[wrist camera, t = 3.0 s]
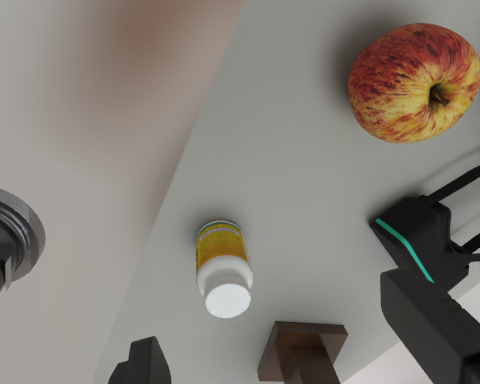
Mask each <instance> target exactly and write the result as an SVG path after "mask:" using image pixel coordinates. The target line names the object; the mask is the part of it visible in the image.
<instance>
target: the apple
mask: <svg viewBox="0 0 480 384" xmlns="http://www.w3.org/2000/svg"><path fill="white" fill-rule="evenodd" d="M479 85H480V62H479V58H478V55H477V53H476V51H475V50H474V48H473V47H472V46H471V45H470V44H469V43H468V42H467V41H466V40H465V39H464V38H463V37H461V36H460V35H458V34H457V33H455V32H453V31H451V30H449V29H447V28H444V27H441V26H438V25H433V24H424V23H418V24H410V25H406V26H402V27H399V28H397V29H394V30H392V31H390V32H388V33H387V34H385V35H383V36H381V37H380V38H378V39H376V40H375V41H373V42H372V43H371V44H369V45H368V46H367V47H366V48H365V49H364V50H363V51H362V52H361V53H360V54H359V56H358V57H357V58H356V60H355V62H354V64H353V66H352V68H351V70H350V73H349V77H348V93H349V99H350V103H351V107H352V110H353V113H354V115H355V117H356V119H357V121H358V123H359V124H360V125H361V127H362V128H363V129H364V130H366V131H367V132H368V133H370V134H371V135H373V136H375V137H377V138H379V139H382V140H384V141H387V142H394V143H410V142H420V141H424V140H427V139H429V138H432V137H434V136H437V135H439V134H440V133H442V132H444V131H445V130H447V129H449V128H450V127H451V126H452V125H454V124H455V123H456V122H457V121H458V120H459V119H460V118H461V116H462V115H463V114H464V112H465V111H466V110H467V108H468V107H469V105H470V104H471V102H472V100H473V99H474V97H475V95H476V93H477V91H478V88H479Z"/></svg>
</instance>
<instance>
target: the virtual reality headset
mask: <svg viewBox="0 0 480 384" xmlns="http://www.w3.org/2000/svg"><path fill="white" fill-rule="evenodd" d="M479 177H480V166H478V167H476V168H474V169H472V170H470V171H468V172H467V173H465V174H464V175H462V176H460V177H459V178H457V179H455V180H454V181H452V182H450V183H449V184H447V185H446V186H444V187H442V188H440V189H439V190H437V191H435V192H434V193H432V194H430V195H429V196H425V195H421V196H419V197H418V198H417V199H415V198H405V199H403V200H402V201H401V202H399V203H398V204H397V205H395V206H394V207H392V208H391V209H390V210H388V211H387V212H386V213H384V214H383V215H382V216H380V217H379V218H378V219H376V220H375V221H373V222H372V223H371V224H370V225H369V226H370V227H371V229H372V230H373V232H374V233H375V234H376V236H377V237H378V239H379V240H380V241H381V243H382V244H383V246H384V247H385V248H386V250H387V251H388V253H389V254H390V255H391V257H392V258H393V260H394V261H395V262H396V264H397V265H398V267H399V268H400V267H404V268H406V269H407V270H408V271H409V272H410V273H411V274H412V275H413V276H414V277H415V278H416V279H419V278H425V279H427V280H429V281H431V282H433V283H435V284H437V285H439V286H440V287H441V288H442V289H444V290H445V291H446V292H448V291H450V290H451V289H452V288H453V287H454V286H455V285H457V284H458V283H459V282H460V281H461V280H463V279H464V278H465V277H466V276H467V275H468V272H469V265H468V264H469V263H470V262H473V261H474V262H476V261H480V253H478V254H472V253H473V252H474V251H476V250H477V249H478V248H480V233H479V234H478V235H476V236H475V237H473V238H472V239H471V240H469V241H468V242H467V243H465V244H464V245H463V246H462V247H461V246H459V245H458V244H456V243H455V242H453V241H452V240H451V239H450V221H451V211H450V209H449V208H448V207H446V206H444V205H443V204H441V203H439V201H440V200H442V199H444V198H445V197H447V196H449V195H451V194H452V193H454V192H456V191H457V190H459V189H461V188H462V187H464V186H466V185H467V184H469V183H471V182H472V181H474V180H476V179H477V178H479Z"/></svg>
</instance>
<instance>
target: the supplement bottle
mask: <svg viewBox="0 0 480 384" xmlns="http://www.w3.org/2000/svg"><path fill="white" fill-rule="evenodd" d="M196 275H197V286H198V289H199V291H200V292H201V294H202V295H203V296H204V298H205V305H206V308H207V310H208V311H209V312H210V313H211V314H212V315H214V316H216V317H220V318H231V317H235V316H237V315H239V314H241V313H243V312H244V311H245V310H246V309H247V308H248V306H249V304H250V300H251V297H250V291H249V290H250V288H251V286H252V283H253V272H252V267H251V263H250V259H249V256H248V252H247V247H246V243H245V238H244V235H243V233H242V231H241V229H240V228H239V227H238V226H237V225H235V224H234V223H232V222H229V221H225V220H216V221H212V222H210V223H208V224H206V225H204V226H203V227H202V228H201V229H200V231H199V232H198V234H197V237H196Z"/></svg>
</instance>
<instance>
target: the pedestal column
mask: <svg viewBox="0 0 480 384" xmlns="http://www.w3.org/2000/svg"><path fill="white" fill-rule="evenodd" d="M347 336H348V334H347V332H346V330H345V328H344V326H343V325H327V324H310V323H293V322H277V321H276V322H275V325H274V328H273V330H272V333H271V336H270V338H269V341H268V344H267V346H266V349H265V352H264V355H263V357H262V360H261V363H260V365H259V368H258V377H259V381H279V382H284V383H285V384H340V382H339V379H338V377H337V375H336V372H335V370H334V367H333V364H334V362H335V360H336V358H337V356H338V354H339V352H340V350H341V348H342V346H343V344H344V342H345V340H346V338H347Z"/></svg>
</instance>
